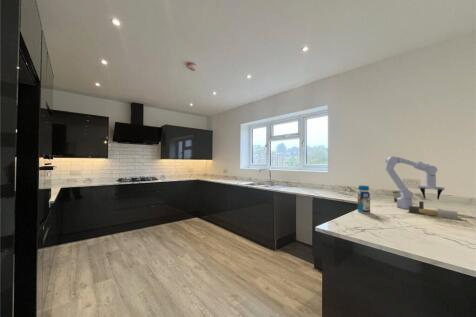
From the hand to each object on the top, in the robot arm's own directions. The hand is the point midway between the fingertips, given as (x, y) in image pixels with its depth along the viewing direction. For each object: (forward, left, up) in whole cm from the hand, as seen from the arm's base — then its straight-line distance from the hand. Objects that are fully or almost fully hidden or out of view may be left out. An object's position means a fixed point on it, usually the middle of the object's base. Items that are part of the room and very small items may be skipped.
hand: (431, 198), depth 156 cm
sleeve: (+9, -19, -9) cm, 23 cm away
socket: (-7, -19, -9) cm, 22 cm away
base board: (+2, -19, -10) cm, 22 cm away
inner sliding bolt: (0, -19, -8) cm, 21 cm away
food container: (-24, +29, -10) cm, 39 cm away
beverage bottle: (-34, -41, -10) cm, 54 cm away
